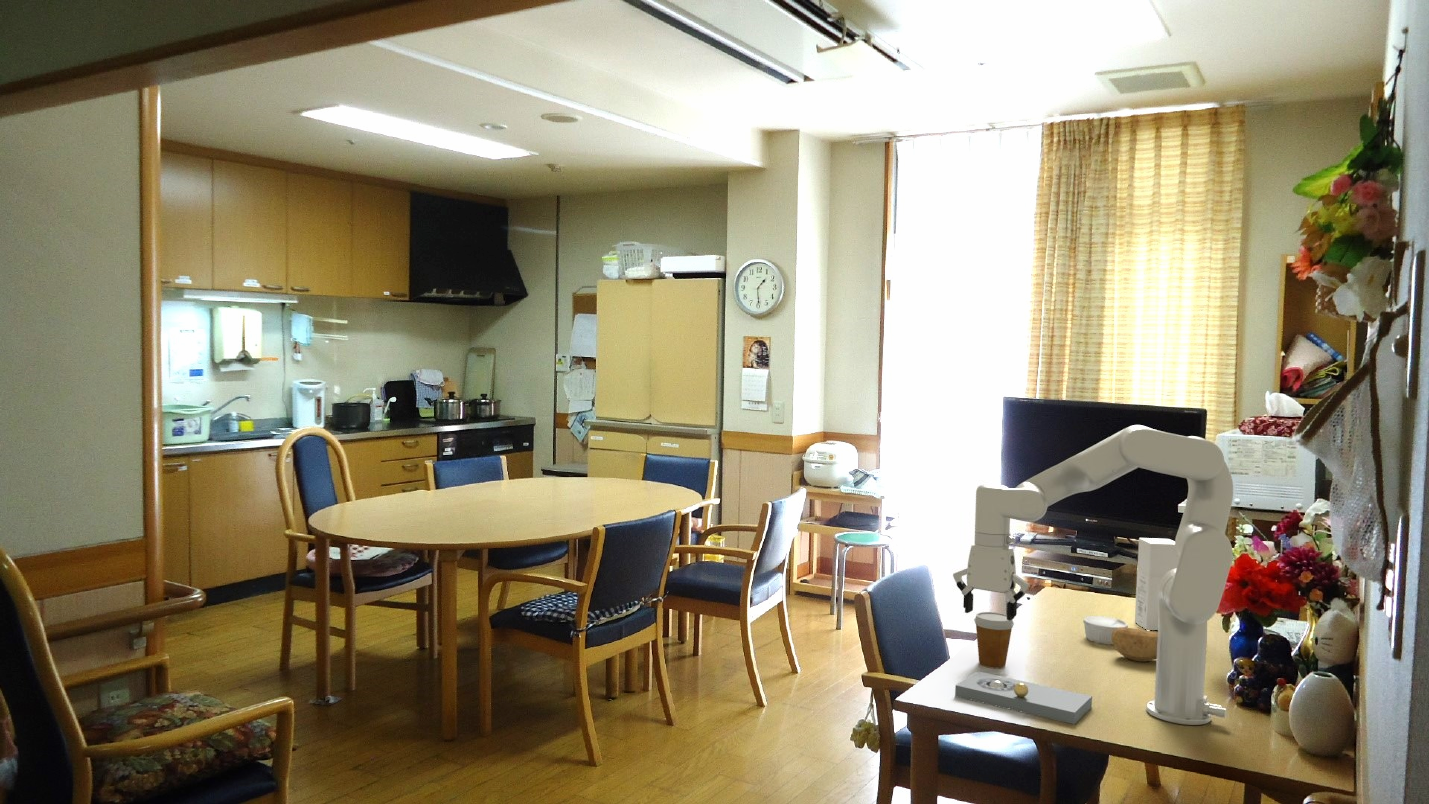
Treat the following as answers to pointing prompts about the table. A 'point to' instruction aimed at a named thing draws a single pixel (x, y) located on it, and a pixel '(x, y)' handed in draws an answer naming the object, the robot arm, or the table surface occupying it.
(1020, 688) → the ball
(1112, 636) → the potato
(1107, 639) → the ramekin
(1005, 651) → the disposable coffee cup
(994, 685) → the ball
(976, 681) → the hole board
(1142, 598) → the tall white carton
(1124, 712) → the table surface
